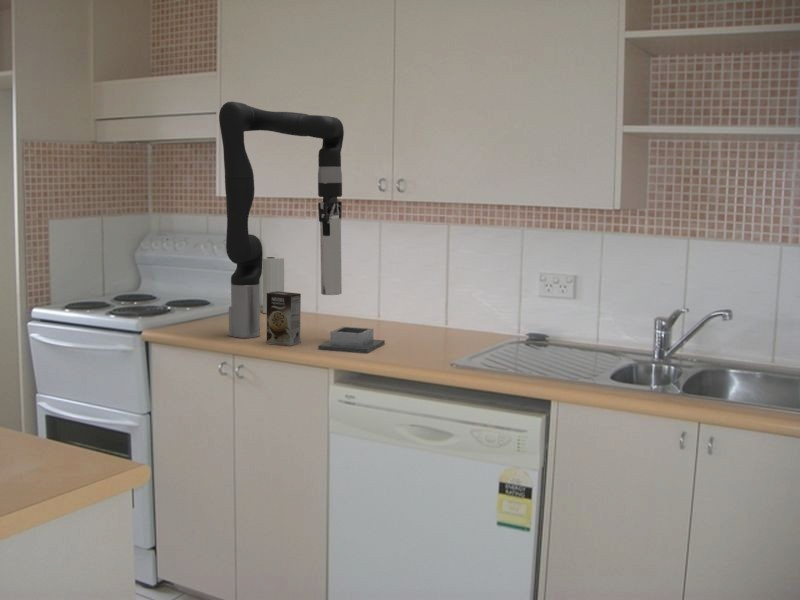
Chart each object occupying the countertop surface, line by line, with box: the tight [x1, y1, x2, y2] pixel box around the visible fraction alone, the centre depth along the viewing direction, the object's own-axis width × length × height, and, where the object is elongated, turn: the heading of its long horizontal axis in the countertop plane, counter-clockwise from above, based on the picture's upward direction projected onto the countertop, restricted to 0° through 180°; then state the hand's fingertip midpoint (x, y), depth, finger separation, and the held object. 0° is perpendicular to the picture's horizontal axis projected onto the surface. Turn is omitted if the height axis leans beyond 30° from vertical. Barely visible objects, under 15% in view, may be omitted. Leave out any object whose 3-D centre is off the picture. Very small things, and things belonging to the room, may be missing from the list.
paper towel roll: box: [262, 256, 285, 315], centre depth 340 cm, size 7×6×21 cm
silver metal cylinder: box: [319, 215, 343, 296], centre depth 282 cm, size 6×6×25 cm
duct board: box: [317, 326, 385, 354], centre depth 278 cm, size 16×16×5 cm
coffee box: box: [266, 291, 302, 347], centre depth 281 cm, size 9×6×16 cm
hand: (330, 234), depth 281 cm, fingers closed on silver metal cylinder, 6 cm apart
